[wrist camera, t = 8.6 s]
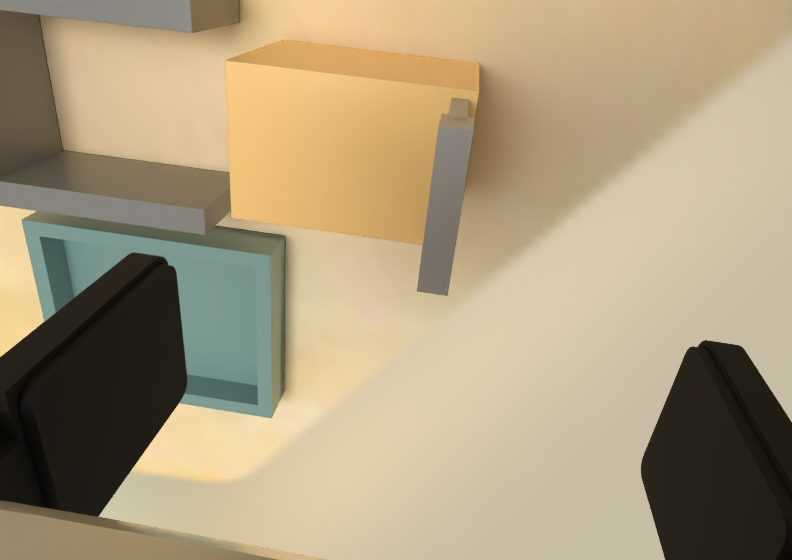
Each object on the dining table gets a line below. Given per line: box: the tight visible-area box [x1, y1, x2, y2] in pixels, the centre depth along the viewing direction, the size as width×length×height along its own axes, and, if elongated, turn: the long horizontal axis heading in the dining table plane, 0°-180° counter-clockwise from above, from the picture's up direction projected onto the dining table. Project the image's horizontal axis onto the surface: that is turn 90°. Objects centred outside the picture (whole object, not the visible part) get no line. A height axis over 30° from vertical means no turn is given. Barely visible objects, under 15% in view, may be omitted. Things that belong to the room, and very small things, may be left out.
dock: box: [0, 0, 240, 235], centre depth 27 cm, size 11×10×5 cm
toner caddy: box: [225, 40, 479, 296], centre depth 23 cm, size 9×6×11 cm, turn 84°
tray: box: [22, 211, 285, 418], centre depth 33 cm, size 13×11×2 cm
